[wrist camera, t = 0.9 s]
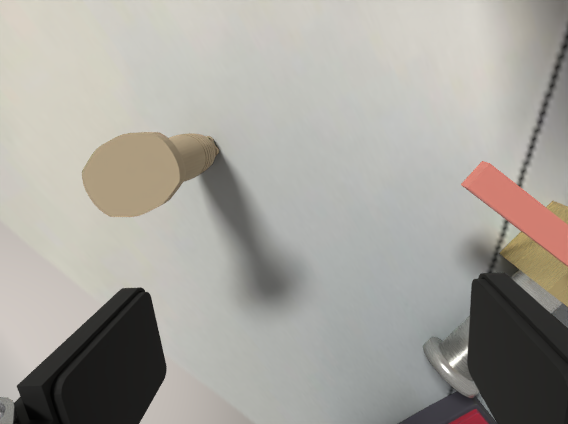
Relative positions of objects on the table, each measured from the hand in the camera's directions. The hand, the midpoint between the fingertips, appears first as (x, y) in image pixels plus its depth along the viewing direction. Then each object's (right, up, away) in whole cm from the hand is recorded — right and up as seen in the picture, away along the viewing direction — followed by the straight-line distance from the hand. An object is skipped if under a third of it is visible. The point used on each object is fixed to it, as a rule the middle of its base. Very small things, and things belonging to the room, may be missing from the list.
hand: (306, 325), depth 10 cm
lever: (+20, +1, +17) cm, 26 cm away
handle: (-9, +10, +26) cm, 29 cm away
